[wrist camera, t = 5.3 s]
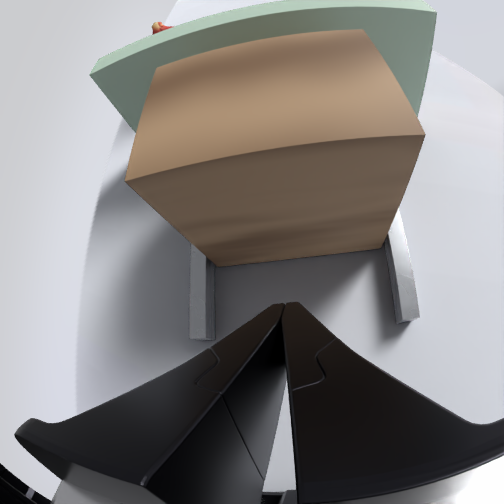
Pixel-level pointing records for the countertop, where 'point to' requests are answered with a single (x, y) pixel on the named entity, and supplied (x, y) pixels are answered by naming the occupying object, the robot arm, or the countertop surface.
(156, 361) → the countertop surface
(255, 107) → the walnut block
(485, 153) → the countertop surface
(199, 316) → the guide rails
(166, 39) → the backboard
